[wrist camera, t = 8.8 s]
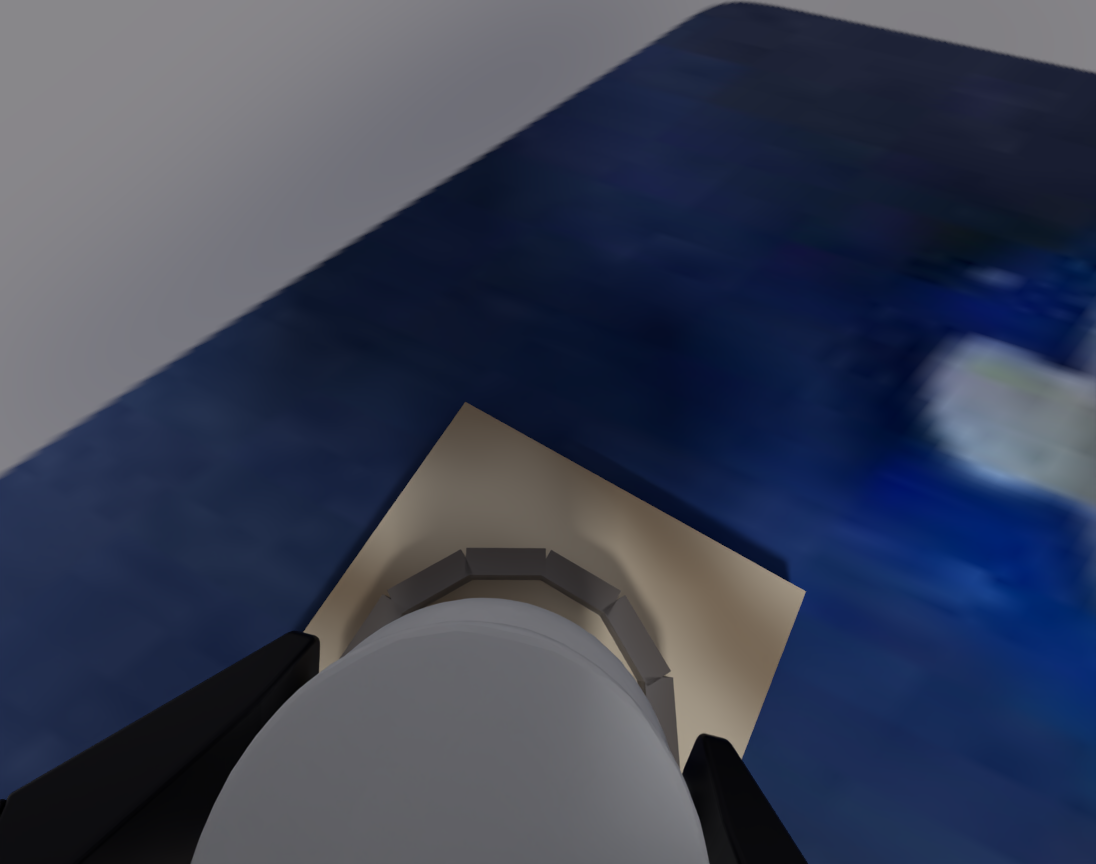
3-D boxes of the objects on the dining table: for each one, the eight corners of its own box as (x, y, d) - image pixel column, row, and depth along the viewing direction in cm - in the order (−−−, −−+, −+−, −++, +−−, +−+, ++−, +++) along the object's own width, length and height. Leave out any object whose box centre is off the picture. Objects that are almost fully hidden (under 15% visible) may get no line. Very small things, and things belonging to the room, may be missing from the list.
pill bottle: (383, 629, 15) (164, 580, 6) (597, 613, 15) (716, 543, 6) (374, 895, 13) (-1, 1524, 3) (622, 868, 13) (870, 1363, 4)
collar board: (559, 1187, 14) (566, 1283, 11) (150, 868, 15) (94, 901, 13) (791, 594, 19) (824, 587, 17) (467, 413, 21) (461, 387, 19)
